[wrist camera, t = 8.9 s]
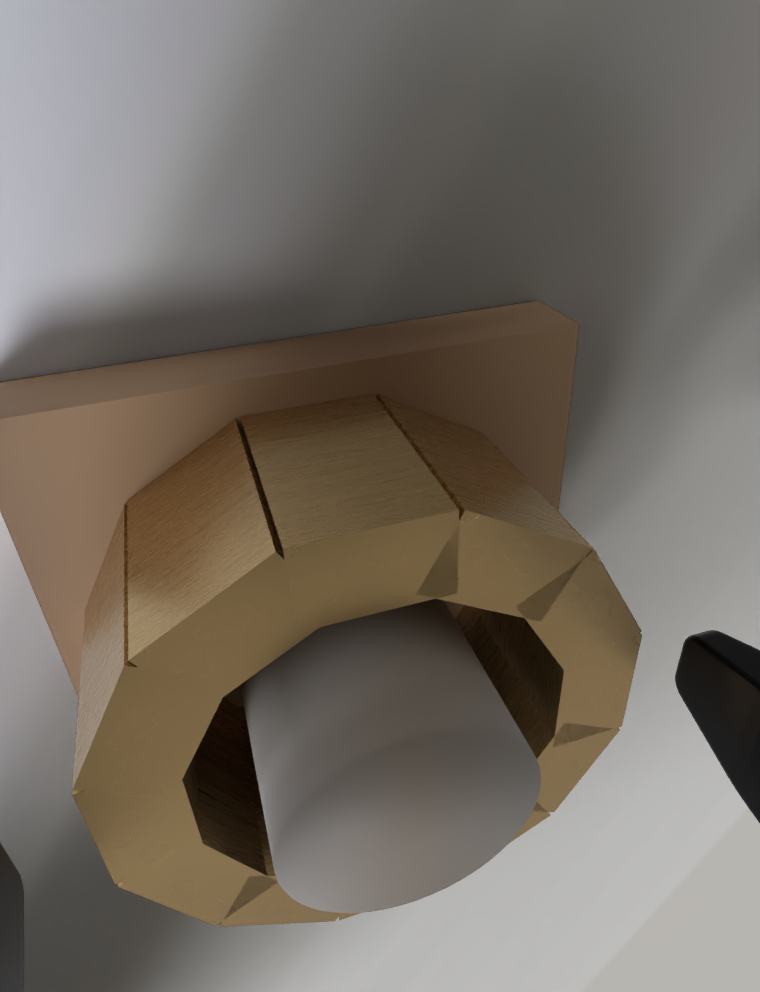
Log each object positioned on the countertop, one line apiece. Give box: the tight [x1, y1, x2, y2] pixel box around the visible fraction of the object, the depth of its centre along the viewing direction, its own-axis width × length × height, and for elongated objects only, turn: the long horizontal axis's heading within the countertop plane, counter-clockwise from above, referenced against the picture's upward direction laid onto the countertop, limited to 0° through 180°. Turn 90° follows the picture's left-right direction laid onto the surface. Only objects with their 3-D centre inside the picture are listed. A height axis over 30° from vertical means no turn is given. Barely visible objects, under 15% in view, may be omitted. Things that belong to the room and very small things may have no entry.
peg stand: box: [0, 301, 579, 913], centre depth 10 cm, size 8×8×5 cm
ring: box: [72, 393, 642, 926], centre depth 10 cm, size 7×7×3 cm
